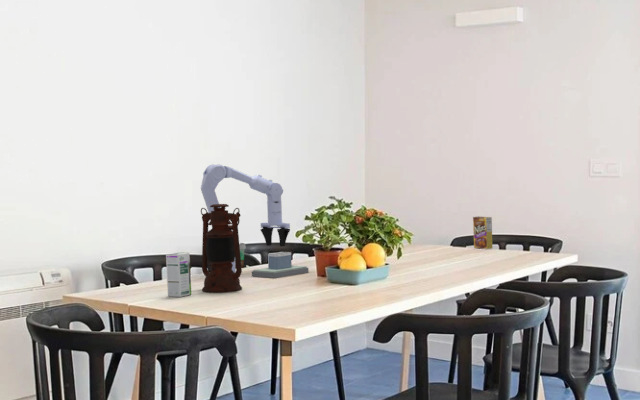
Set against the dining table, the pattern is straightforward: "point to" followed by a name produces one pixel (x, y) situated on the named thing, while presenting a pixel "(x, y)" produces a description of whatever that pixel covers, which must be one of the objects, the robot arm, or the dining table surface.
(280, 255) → the housing
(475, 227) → the candy box
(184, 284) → the syrup box
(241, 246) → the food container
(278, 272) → the stand
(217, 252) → the lantern
